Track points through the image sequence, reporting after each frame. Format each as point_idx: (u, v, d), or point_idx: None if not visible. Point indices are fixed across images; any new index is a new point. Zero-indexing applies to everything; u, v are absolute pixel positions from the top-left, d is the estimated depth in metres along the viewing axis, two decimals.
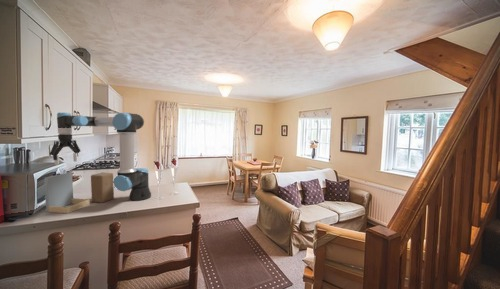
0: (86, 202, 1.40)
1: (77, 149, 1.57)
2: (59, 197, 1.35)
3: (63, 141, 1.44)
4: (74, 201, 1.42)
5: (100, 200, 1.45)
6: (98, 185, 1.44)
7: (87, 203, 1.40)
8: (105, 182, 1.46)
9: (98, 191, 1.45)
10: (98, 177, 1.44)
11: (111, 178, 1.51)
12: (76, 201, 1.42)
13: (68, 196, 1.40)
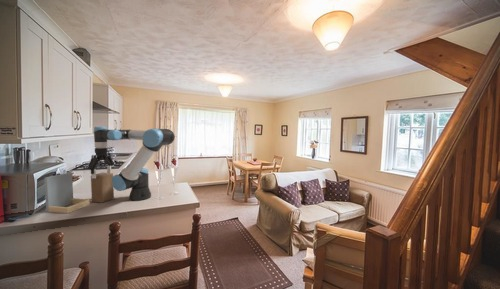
0: (86, 202, 1.40)
1: (110, 162, 1.58)
2: (59, 197, 1.35)
3: (99, 155, 1.45)
4: (74, 201, 1.42)
5: (100, 200, 1.45)
6: (98, 185, 1.44)
7: (87, 203, 1.40)
8: (105, 182, 1.46)
9: (98, 191, 1.45)
10: (98, 177, 1.44)
11: (111, 178, 1.51)
12: (76, 201, 1.42)
13: (68, 196, 1.40)
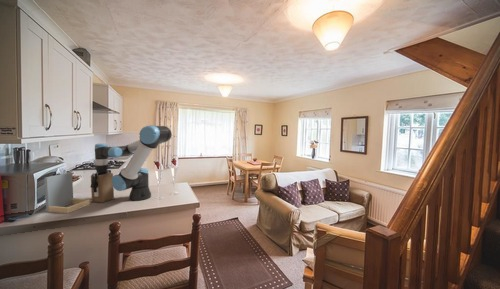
0: (86, 202, 1.40)
1: None
2: (59, 197, 1.35)
3: (100, 172, 1.46)
4: (74, 201, 1.42)
5: (100, 200, 1.45)
6: (98, 185, 1.44)
7: (87, 203, 1.40)
8: (105, 182, 1.46)
9: (98, 191, 1.45)
10: (98, 177, 1.44)
11: (111, 178, 1.51)
12: (76, 201, 1.42)
13: (68, 196, 1.40)
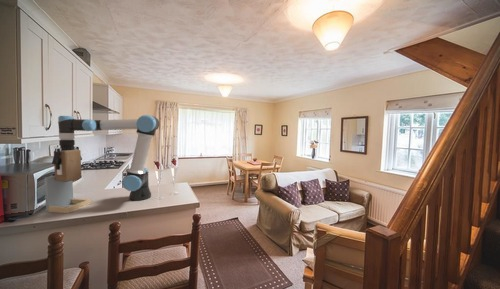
0: (86, 202, 1.40)
1: None
2: (59, 197, 1.35)
3: (64, 147, 1.30)
4: (74, 201, 1.42)
5: (64, 179, 1.29)
6: (61, 162, 1.28)
7: (87, 203, 1.40)
8: (69, 159, 1.30)
9: None
10: (61, 153, 1.28)
11: (78, 155, 1.35)
12: (76, 201, 1.42)
13: (68, 196, 1.40)
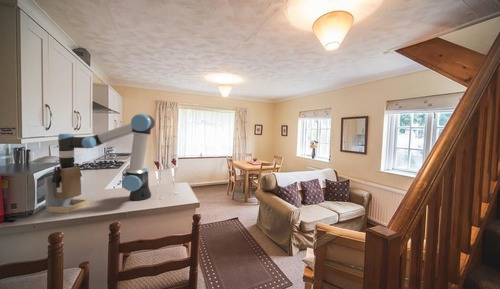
0: (86, 202, 1.40)
1: None
2: None
3: (64, 165, 1.31)
4: (74, 201, 1.42)
5: (64, 196, 1.30)
6: (61, 179, 1.29)
7: (87, 203, 1.40)
8: (69, 176, 1.31)
9: None
10: (61, 171, 1.28)
11: (78, 172, 1.36)
12: (76, 201, 1.42)
13: None
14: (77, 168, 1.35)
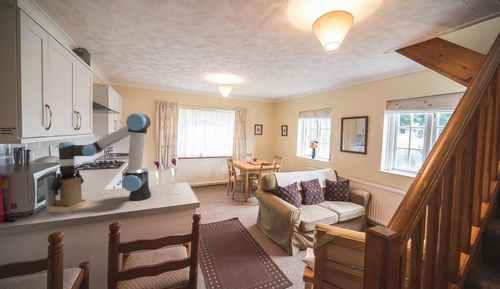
0: (86, 202, 1.40)
1: None
2: None
3: (65, 173, 1.31)
4: None
5: None
6: (62, 191, 1.30)
7: (87, 203, 1.40)
8: (70, 188, 1.31)
9: (62, 198, 1.30)
10: (62, 182, 1.29)
11: (78, 183, 1.37)
12: None
13: None
14: (78, 179, 1.36)
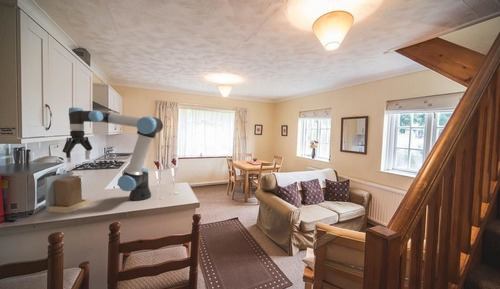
0: (86, 202, 1.40)
1: None
2: None
3: (76, 138, 1.36)
4: None
5: None
6: (62, 191, 1.30)
7: (87, 203, 1.40)
8: (70, 188, 1.31)
9: (62, 198, 1.30)
10: (62, 182, 1.29)
11: (78, 183, 1.37)
12: None
13: None
14: (78, 179, 1.36)
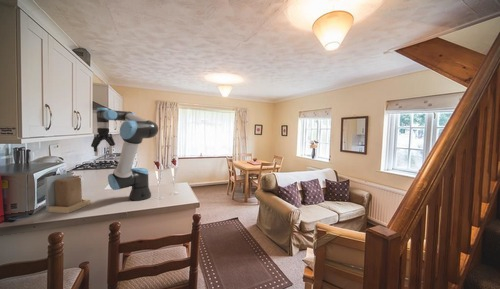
0: (86, 202, 1.40)
1: (112, 142, 1.67)
2: None
3: (102, 134, 1.55)
4: None
5: None
6: (62, 191, 1.30)
7: (87, 203, 1.40)
8: (70, 188, 1.31)
9: (62, 198, 1.30)
10: (62, 182, 1.29)
11: (78, 183, 1.37)
12: None
13: None
14: (78, 179, 1.36)
